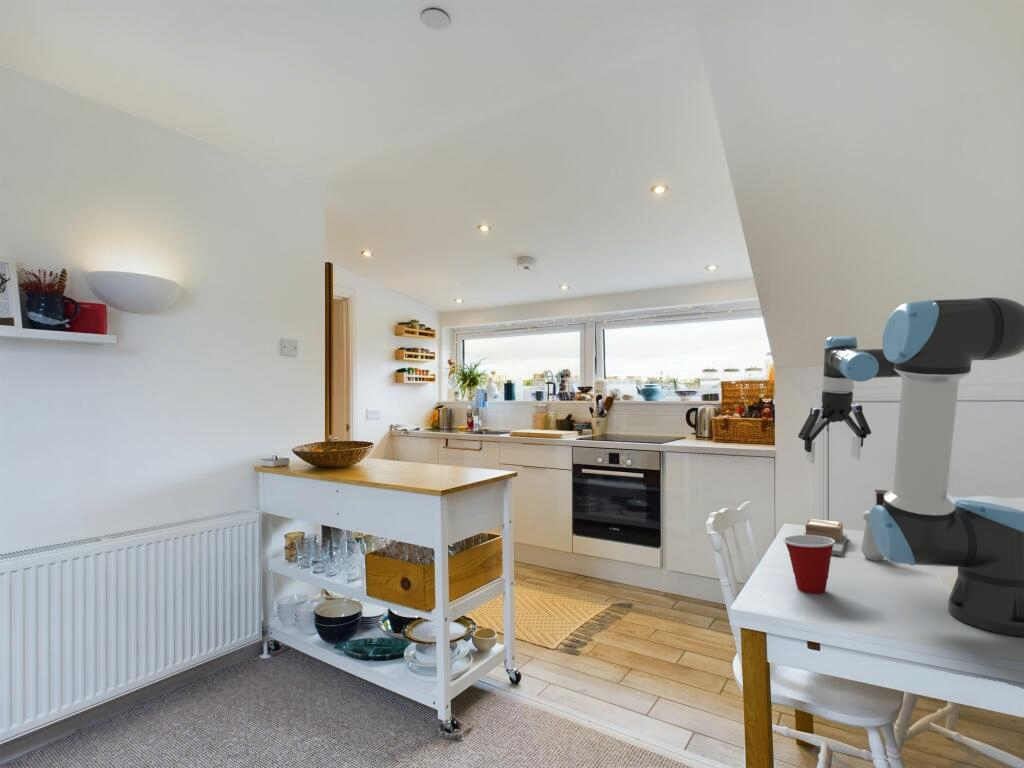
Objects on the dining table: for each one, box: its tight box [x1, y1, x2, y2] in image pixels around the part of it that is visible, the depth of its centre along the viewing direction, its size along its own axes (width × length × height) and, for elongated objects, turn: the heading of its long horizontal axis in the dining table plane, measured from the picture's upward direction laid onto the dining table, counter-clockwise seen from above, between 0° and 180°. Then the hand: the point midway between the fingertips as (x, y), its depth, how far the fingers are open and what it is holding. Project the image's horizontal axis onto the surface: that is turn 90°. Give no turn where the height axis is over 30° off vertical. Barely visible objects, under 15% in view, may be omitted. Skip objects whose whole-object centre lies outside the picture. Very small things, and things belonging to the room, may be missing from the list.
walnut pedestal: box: [805, 518, 844, 542], centre depth 161 cm, size 9×9×4 cm
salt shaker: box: [860, 510, 885, 562], centre depth 144 cm, size 6×6×13 cm
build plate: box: [803, 531, 848, 557], centre depth 158 cm, size 22×11×2 cm, turn 144°
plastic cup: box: [782, 534, 835, 595], centre depth 122 cm, size 11×11×12 cm
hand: (832, 459), depth 153 cm, fingers open, 13 cm apart
